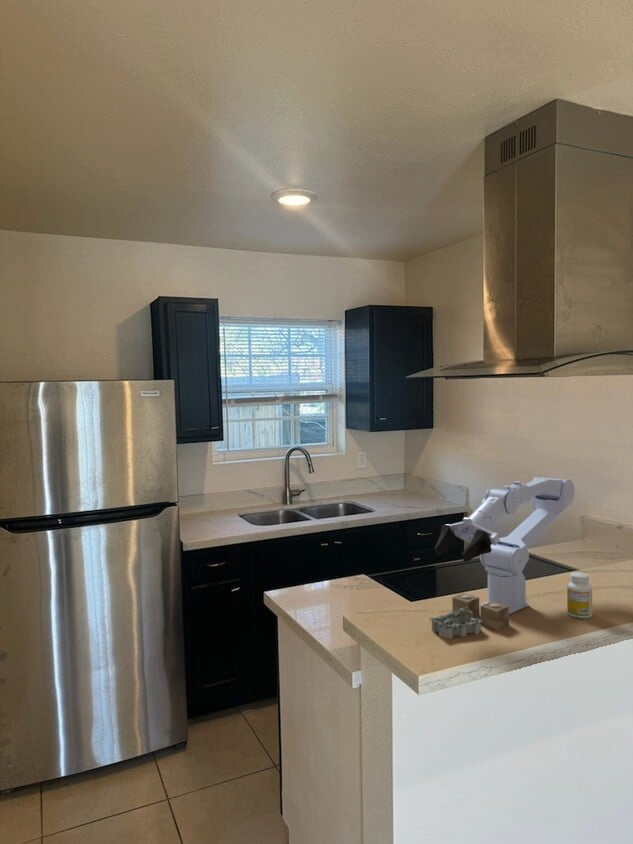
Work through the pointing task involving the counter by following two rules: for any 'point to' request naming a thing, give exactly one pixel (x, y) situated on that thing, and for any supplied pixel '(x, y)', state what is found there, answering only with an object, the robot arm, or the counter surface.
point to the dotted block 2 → (495, 615)
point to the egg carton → (456, 623)
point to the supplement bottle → (579, 596)
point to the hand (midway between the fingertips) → (449, 554)
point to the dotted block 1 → (466, 603)
